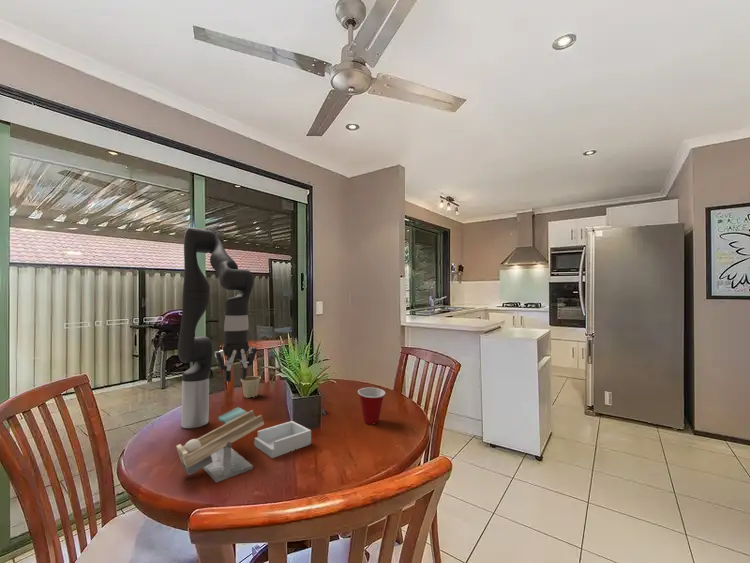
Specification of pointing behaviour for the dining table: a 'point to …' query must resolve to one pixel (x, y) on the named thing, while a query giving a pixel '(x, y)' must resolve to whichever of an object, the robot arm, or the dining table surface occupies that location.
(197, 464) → the lever
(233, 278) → the robot arm
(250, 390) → the flower pot
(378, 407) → the plastic cup
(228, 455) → the lever stand
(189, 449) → the ball
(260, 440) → the tray
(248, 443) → the dining table surface
